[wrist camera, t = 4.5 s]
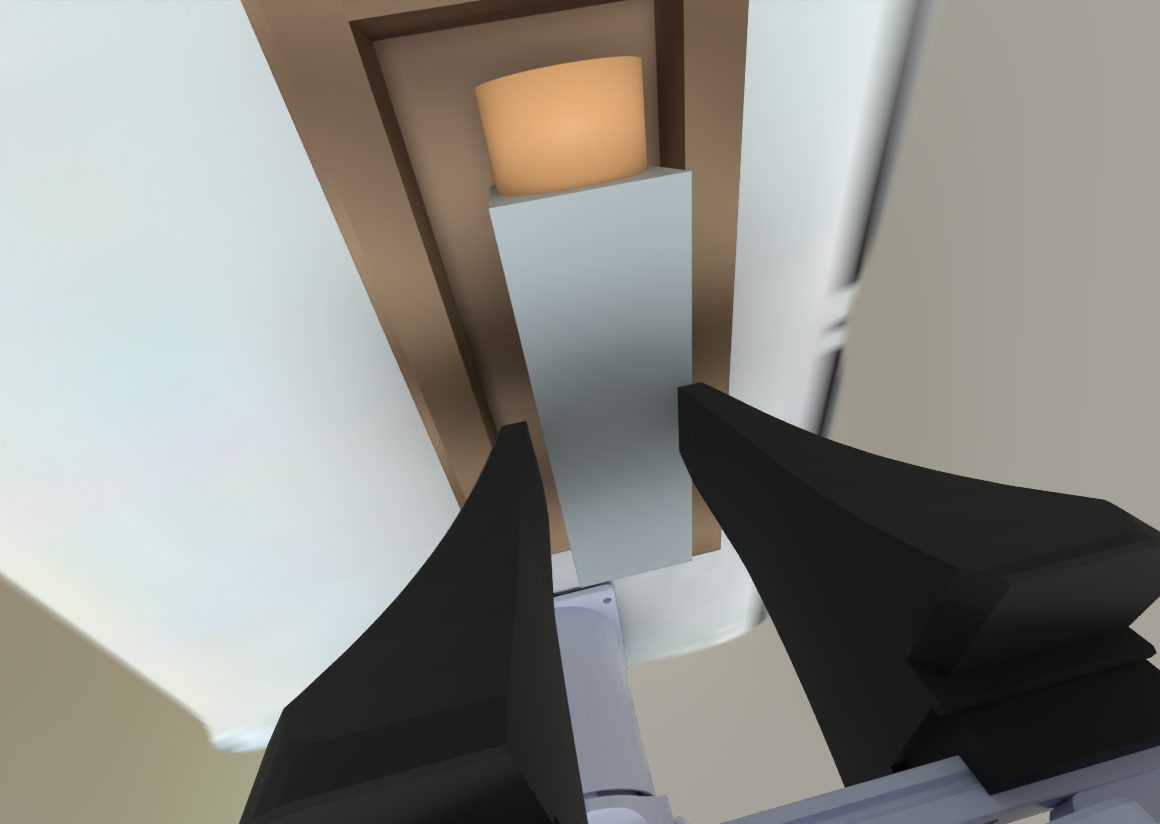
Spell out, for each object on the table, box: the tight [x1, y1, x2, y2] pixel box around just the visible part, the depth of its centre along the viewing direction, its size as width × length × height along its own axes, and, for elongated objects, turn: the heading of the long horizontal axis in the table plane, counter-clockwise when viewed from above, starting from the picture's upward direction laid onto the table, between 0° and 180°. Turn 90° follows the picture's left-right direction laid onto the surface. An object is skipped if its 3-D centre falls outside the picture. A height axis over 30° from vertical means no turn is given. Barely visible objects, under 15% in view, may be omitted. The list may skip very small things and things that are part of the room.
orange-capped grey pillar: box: [475, 56, 692, 588], centre depth 13 cm, size 14×4×5 cm, turn 8°
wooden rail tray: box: [241, 0, 749, 556], centre depth 15 cm, size 21×12×3 cm, turn 9°
